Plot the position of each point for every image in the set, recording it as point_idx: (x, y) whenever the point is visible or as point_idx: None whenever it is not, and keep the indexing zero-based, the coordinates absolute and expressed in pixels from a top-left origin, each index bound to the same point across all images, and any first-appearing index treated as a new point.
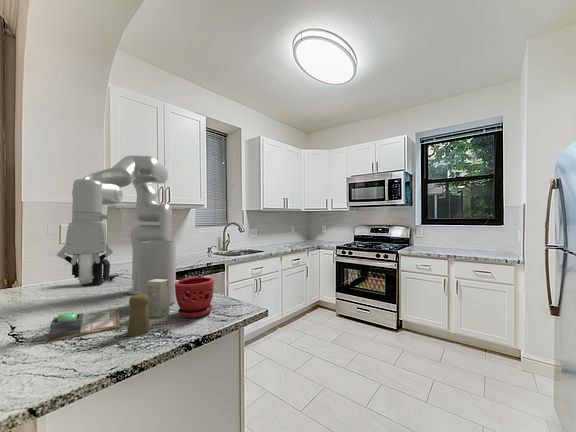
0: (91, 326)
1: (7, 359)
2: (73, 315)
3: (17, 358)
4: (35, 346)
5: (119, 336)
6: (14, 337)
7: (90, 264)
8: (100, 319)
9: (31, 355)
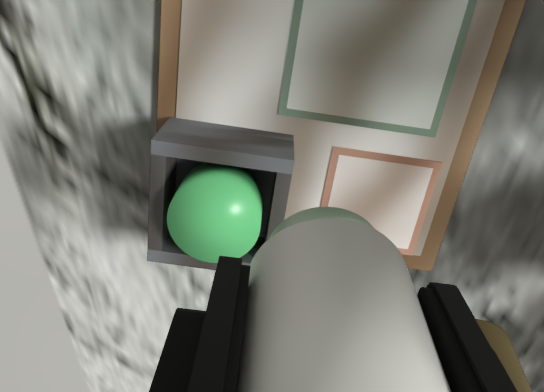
0: (327, 191)
1: (65, 304)
2: (241, 252)
3: (93, 316)
4: (125, 246)
5: None
6: (6, 53)
7: None
8: (388, 98)
9: (129, 320)
